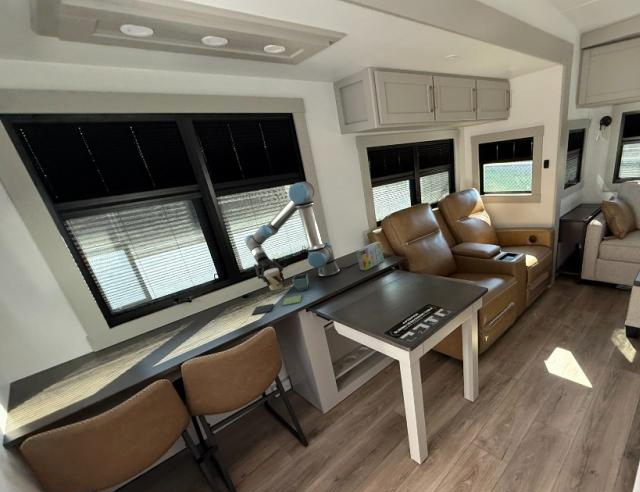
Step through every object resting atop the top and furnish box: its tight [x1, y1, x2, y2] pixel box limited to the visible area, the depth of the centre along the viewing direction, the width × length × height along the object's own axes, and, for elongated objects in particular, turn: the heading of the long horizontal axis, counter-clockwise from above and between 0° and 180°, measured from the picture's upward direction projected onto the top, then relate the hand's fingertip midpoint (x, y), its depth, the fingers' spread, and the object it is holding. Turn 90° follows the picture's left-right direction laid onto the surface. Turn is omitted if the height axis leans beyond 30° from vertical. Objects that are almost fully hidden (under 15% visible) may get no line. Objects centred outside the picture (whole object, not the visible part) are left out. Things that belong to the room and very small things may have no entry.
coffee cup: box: [264, 267, 283, 291], centre depth 202 cm, size 9×9×12 cm
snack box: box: [355, 241, 385, 272], centre depth 228 cm, size 21×6×15 cm, turn 141°
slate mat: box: [251, 303, 275, 316], centre depth 183 cm, size 10×10×1 cm
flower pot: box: [291, 273, 310, 292], centre depth 203 cm, size 9×9×9 cm
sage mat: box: [281, 294, 303, 307], centre depth 189 cm, size 10×10×1 cm
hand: (276, 282), depth 200 cm, fingers closed on coffee cup, 9 cm apart
